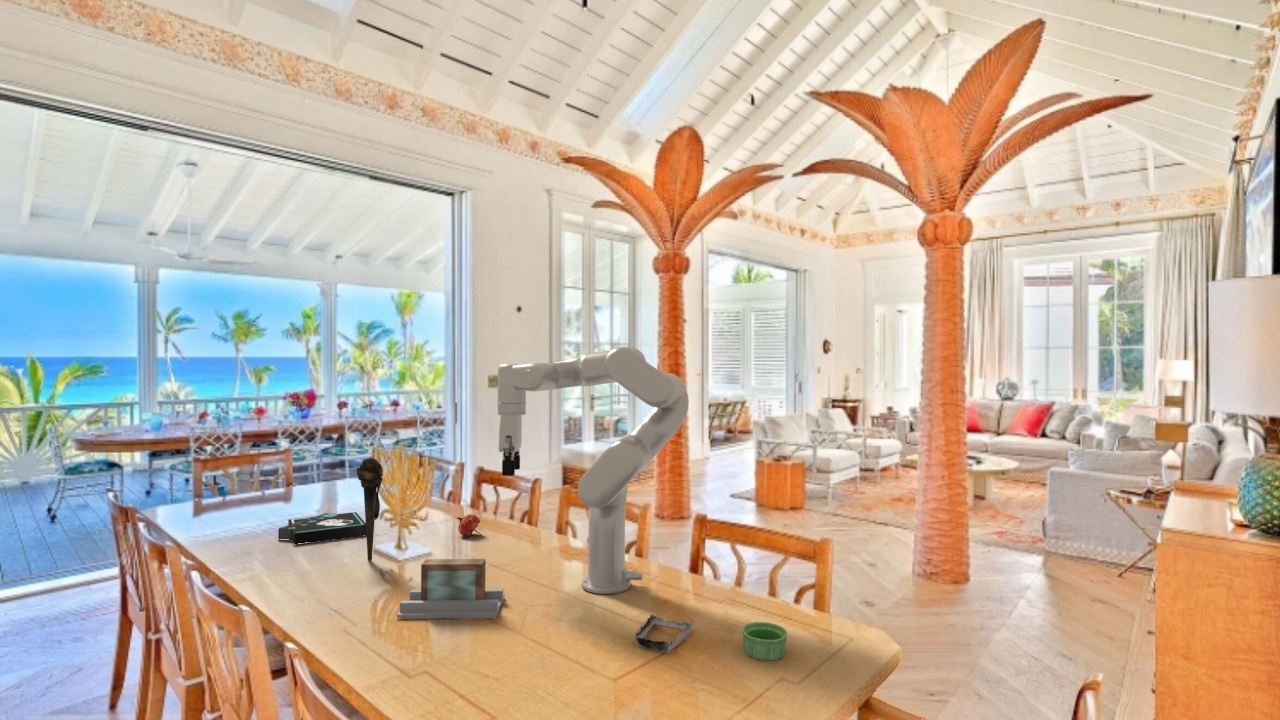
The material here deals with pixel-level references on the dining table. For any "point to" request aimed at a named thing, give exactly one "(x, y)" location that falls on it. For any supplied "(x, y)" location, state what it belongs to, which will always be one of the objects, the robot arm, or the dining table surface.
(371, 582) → the dining table surface
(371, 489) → the decorative torch
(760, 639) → the ramekin
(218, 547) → the dining table surface
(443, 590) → the picture frame
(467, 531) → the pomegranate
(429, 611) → the display stand
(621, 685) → the dining table surface
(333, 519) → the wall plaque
